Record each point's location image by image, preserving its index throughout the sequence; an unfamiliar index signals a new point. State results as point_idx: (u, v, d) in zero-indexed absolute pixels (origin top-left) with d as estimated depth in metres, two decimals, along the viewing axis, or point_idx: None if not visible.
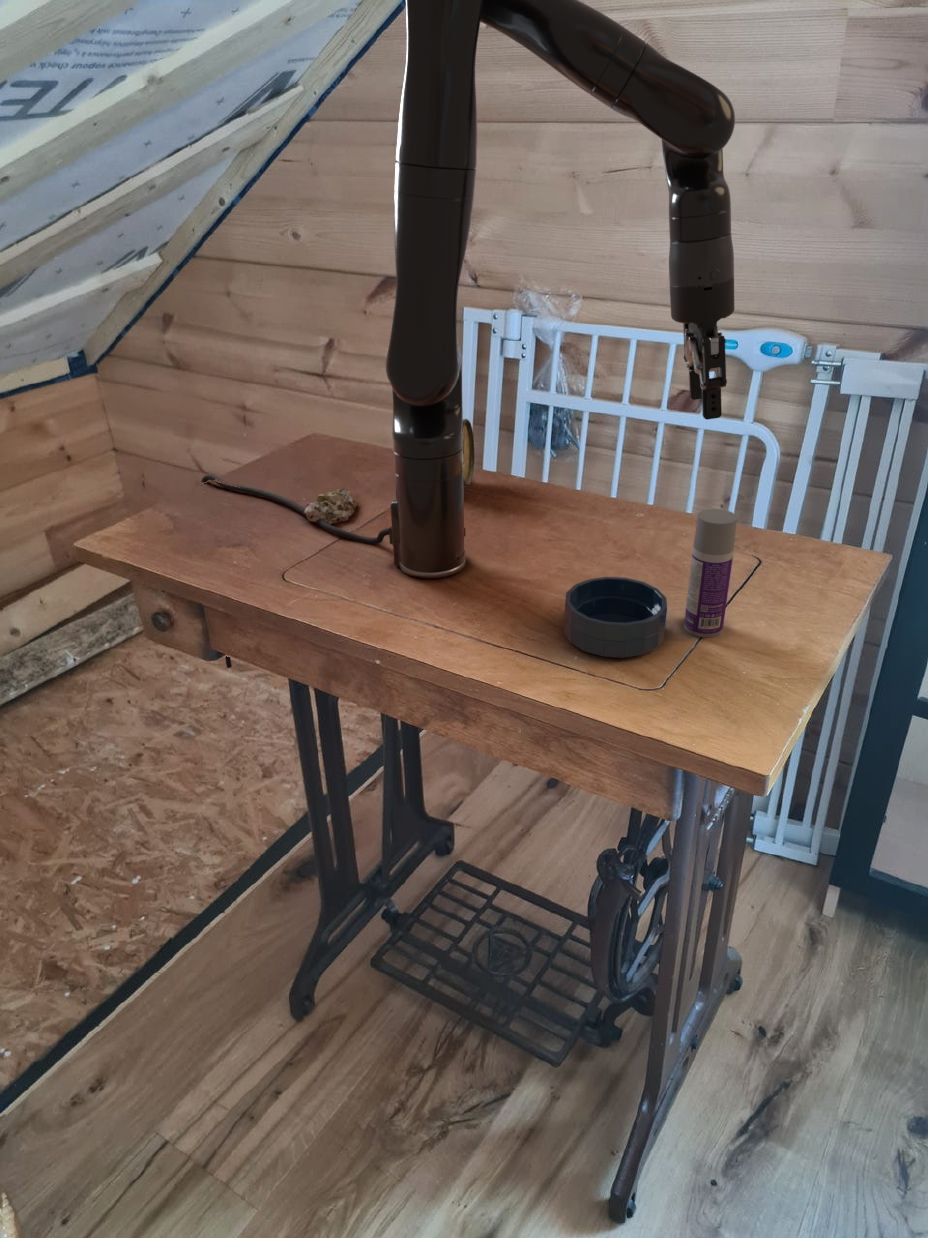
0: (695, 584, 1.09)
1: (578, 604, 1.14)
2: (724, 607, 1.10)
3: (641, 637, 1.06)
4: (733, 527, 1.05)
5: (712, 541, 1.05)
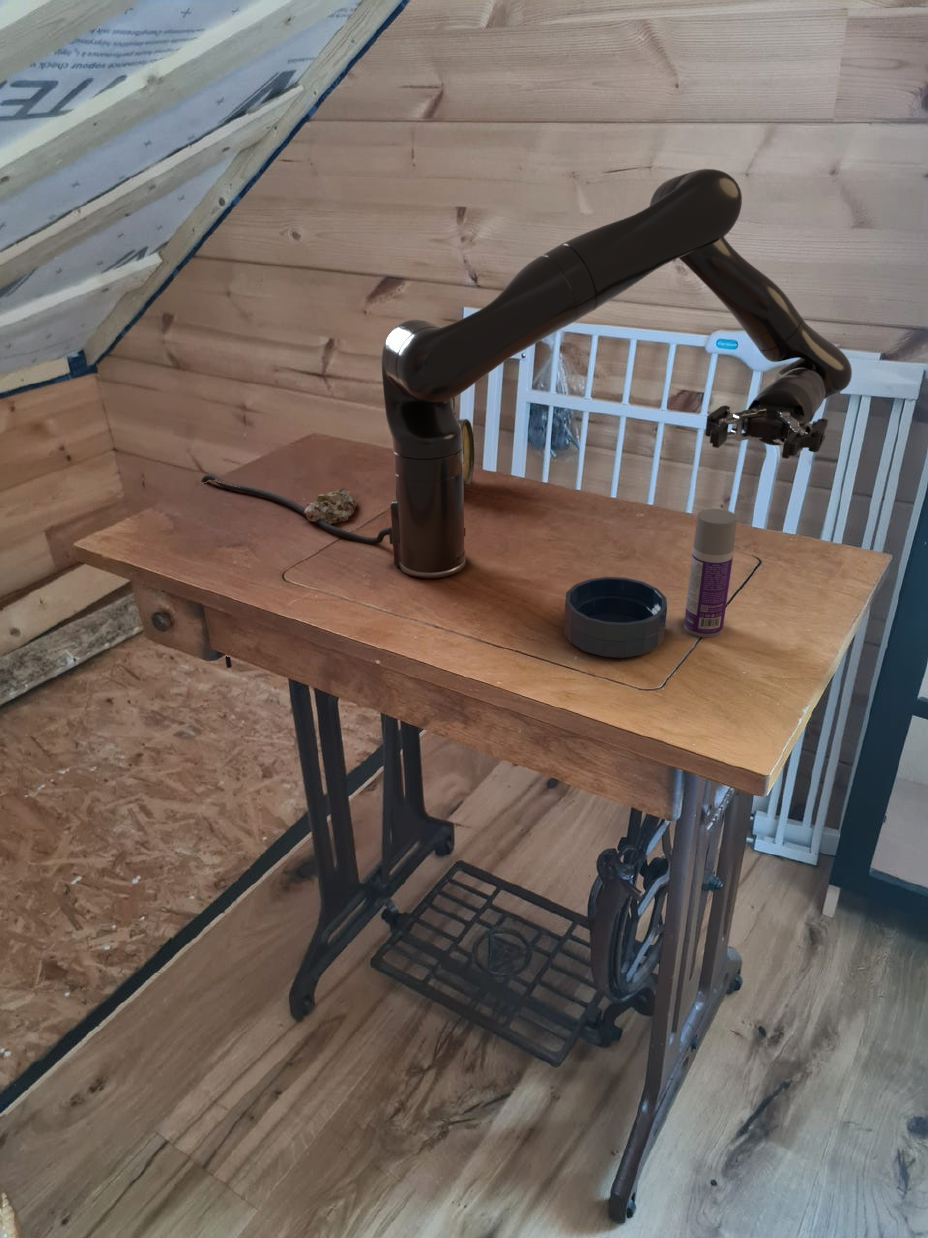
0: (695, 584, 1.09)
1: (578, 604, 1.14)
2: (724, 607, 1.10)
3: (641, 637, 1.06)
4: (733, 527, 1.05)
5: (712, 541, 1.05)
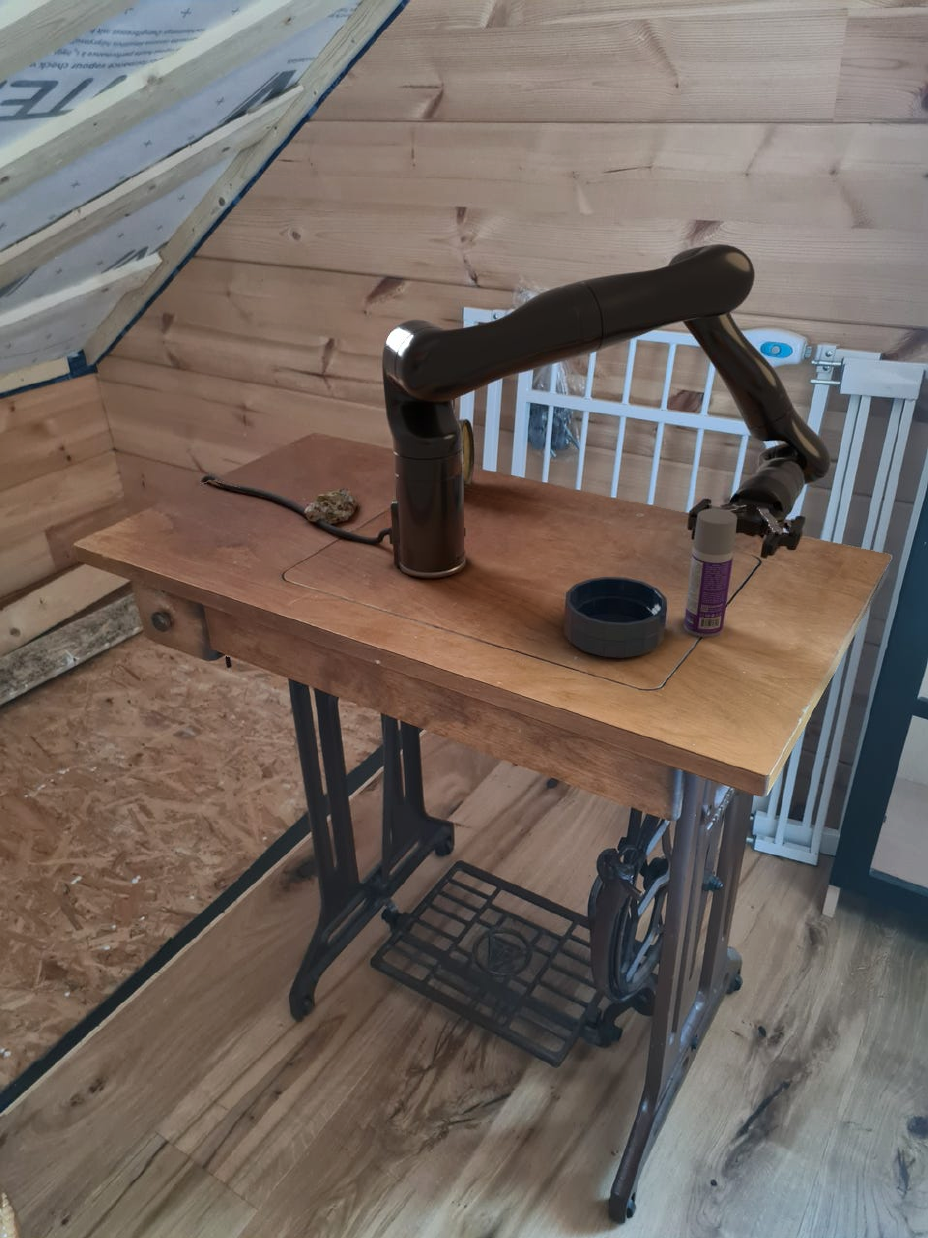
0: (695, 584, 1.09)
1: (578, 604, 1.14)
2: (724, 607, 1.10)
3: (641, 637, 1.06)
4: (733, 527, 1.05)
5: (712, 541, 1.05)
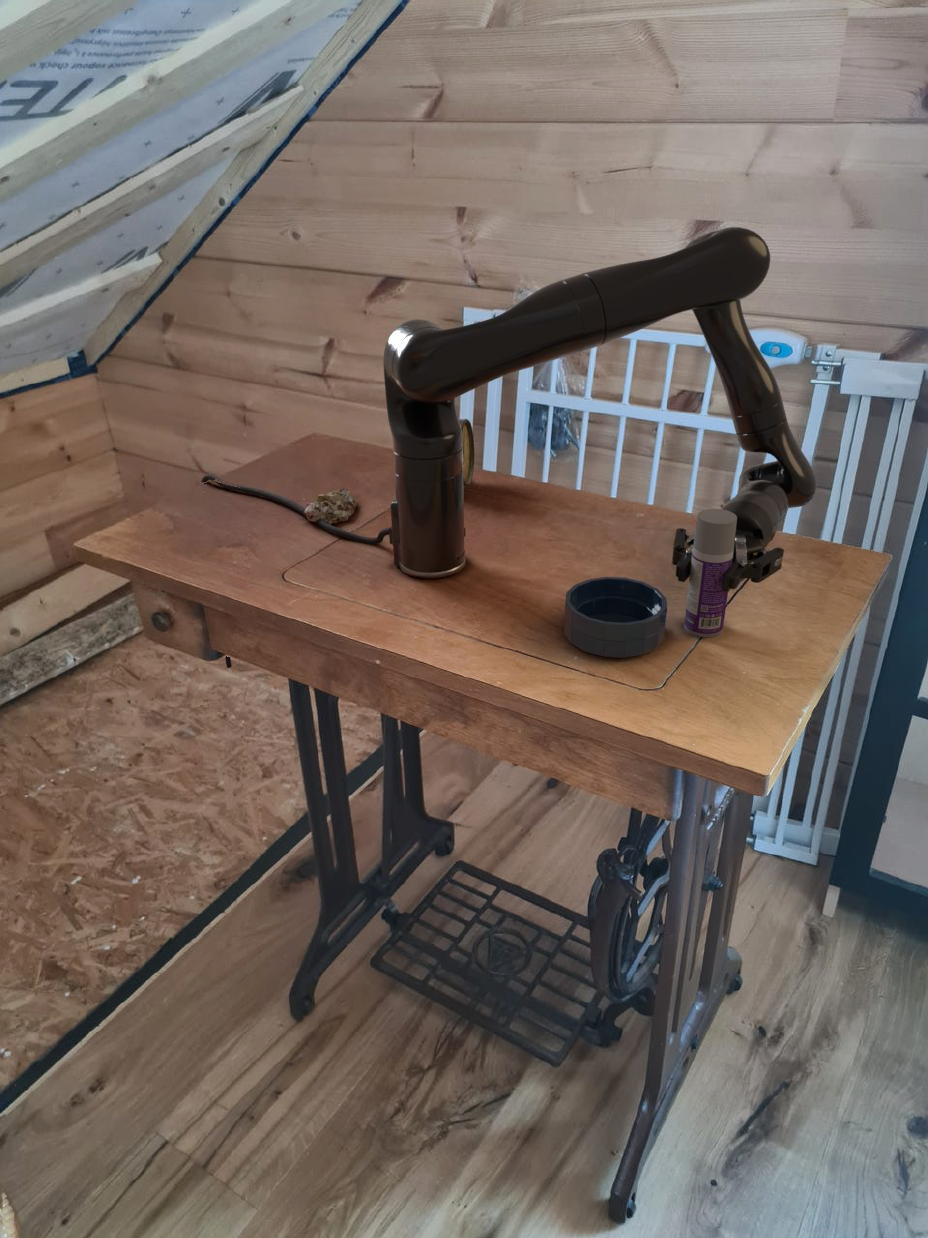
0: (695, 584, 1.09)
1: (578, 604, 1.14)
2: (724, 607, 1.10)
3: (641, 637, 1.06)
4: (733, 527, 1.05)
5: (712, 541, 1.05)
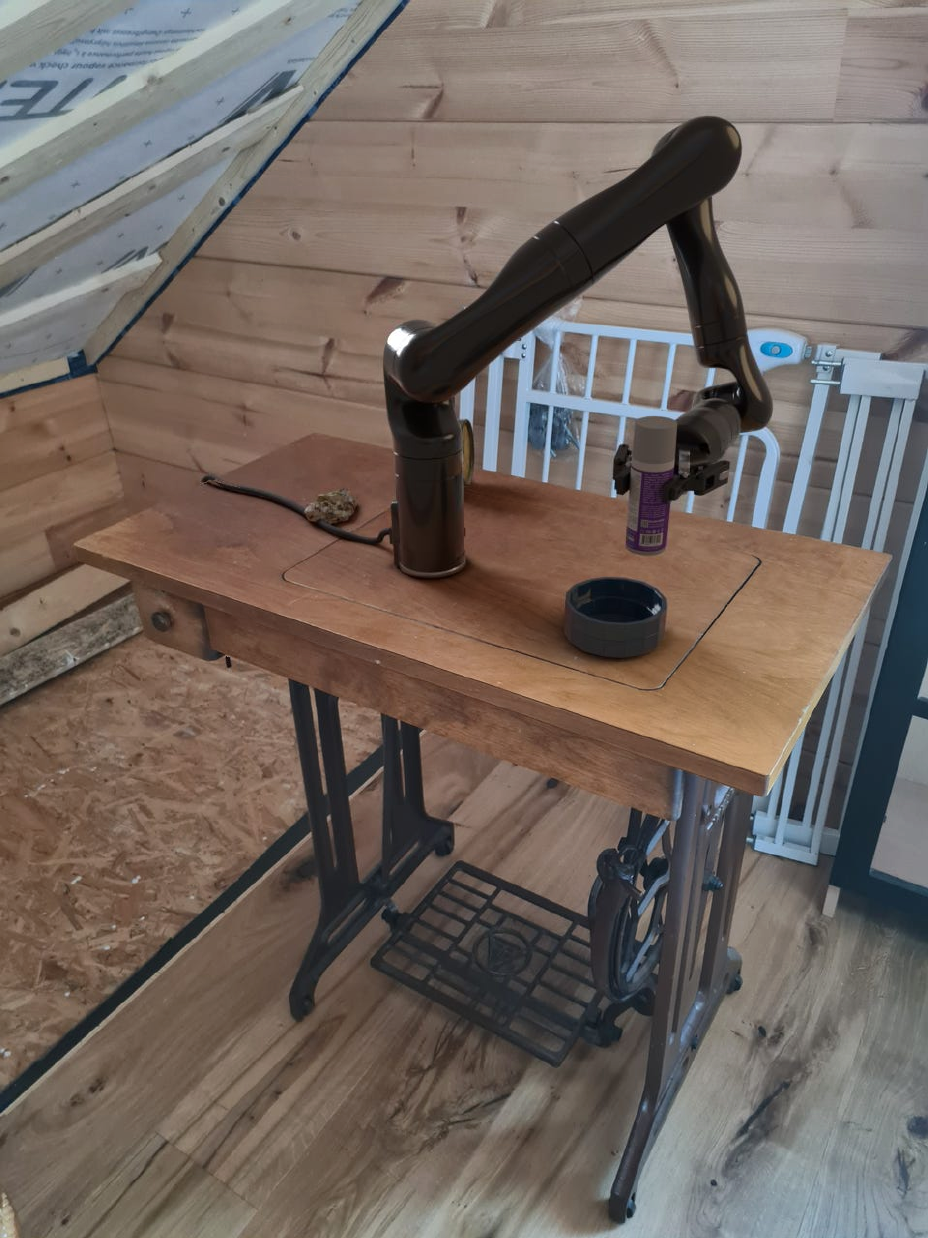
0: (634, 497, 1.02)
1: (578, 604, 1.14)
2: (666, 523, 1.04)
3: (641, 637, 1.06)
4: (672, 433, 0.98)
5: (650, 448, 0.99)
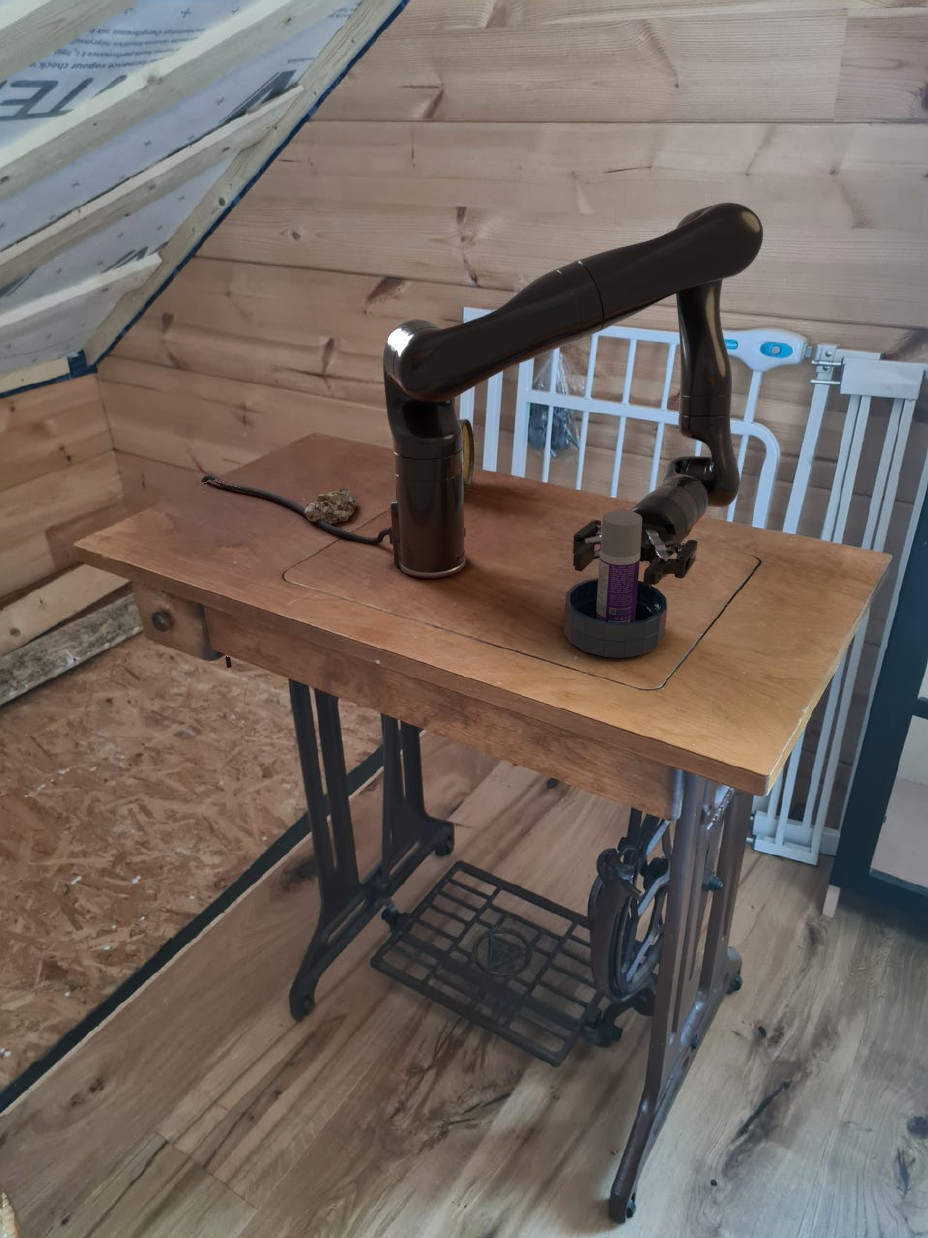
0: (602, 587, 1.08)
1: (578, 604, 1.14)
2: (633, 610, 1.09)
3: (641, 637, 1.06)
4: (638, 529, 1.04)
5: (617, 543, 1.04)
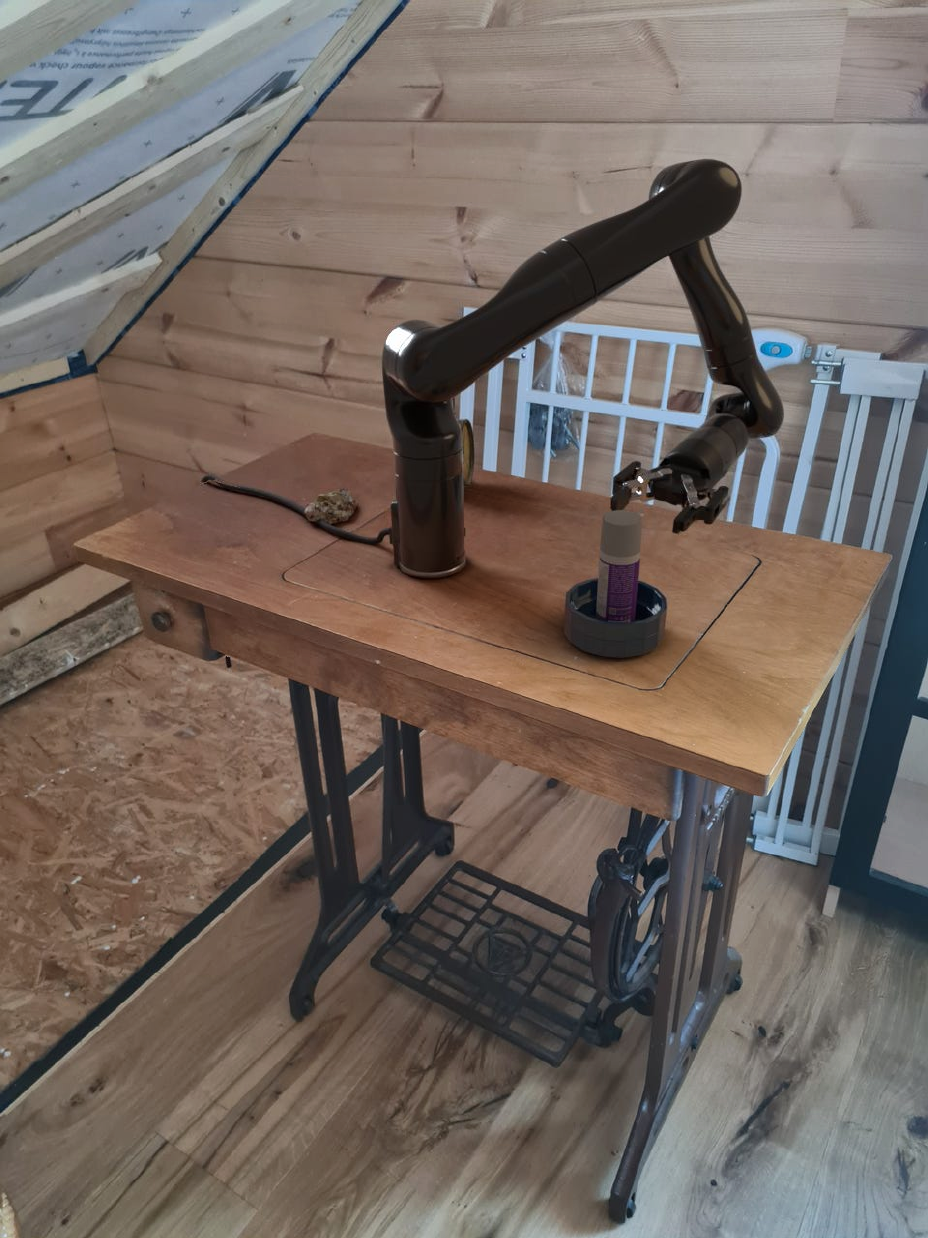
0: (602, 587, 1.08)
1: (578, 604, 1.14)
2: (633, 610, 1.09)
3: (641, 637, 1.06)
4: (638, 529, 1.04)
5: (617, 543, 1.04)
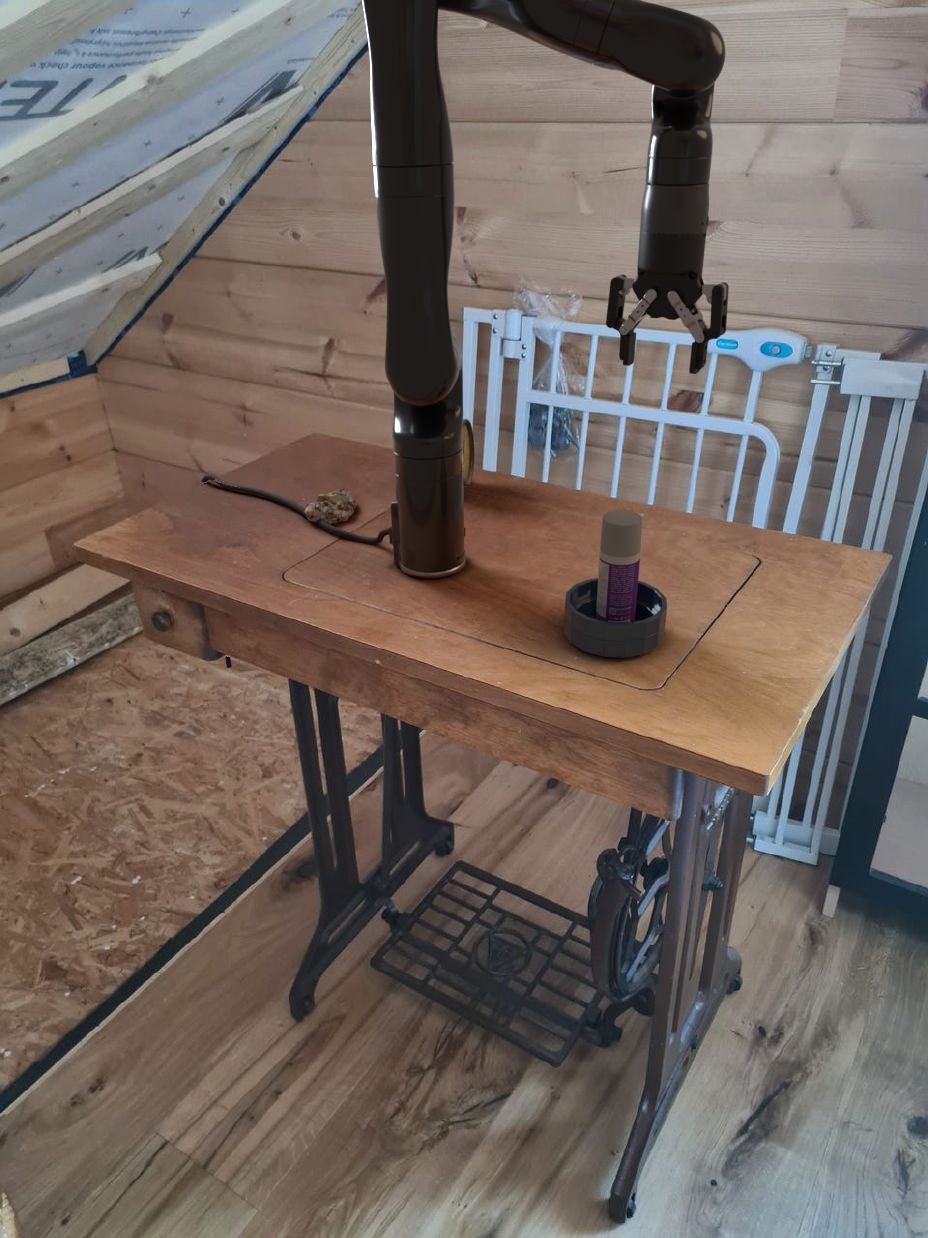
0: (602, 587, 1.08)
1: (578, 604, 1.14)
2: (633, 610, 1.09)
3: (641, 637, 1.06)
4: (638, 529, 1.04)
5: (617, 543, 1.04)
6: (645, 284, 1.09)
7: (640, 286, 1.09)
